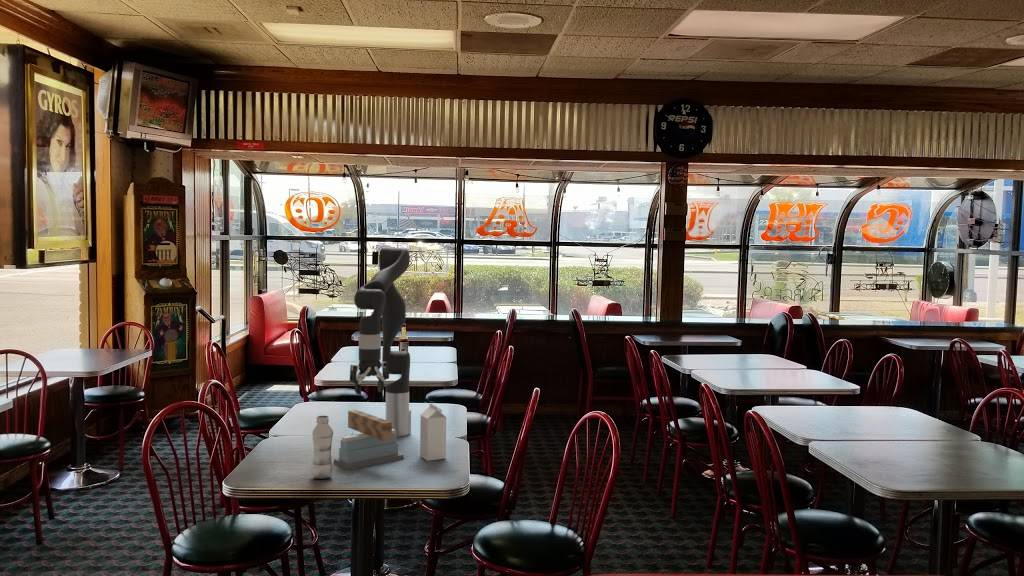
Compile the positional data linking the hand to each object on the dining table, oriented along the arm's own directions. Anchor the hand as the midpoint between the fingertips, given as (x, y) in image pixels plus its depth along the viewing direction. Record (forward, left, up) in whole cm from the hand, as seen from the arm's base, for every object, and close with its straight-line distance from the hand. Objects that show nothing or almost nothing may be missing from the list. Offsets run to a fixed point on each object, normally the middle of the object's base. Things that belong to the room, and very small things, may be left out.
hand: (369, 393), depth 271 cm
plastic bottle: (+22, +8, -24) cm, 34 cm away
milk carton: (-20, +10, -24) cm, 33 cm away
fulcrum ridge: (0, 0, -24) cm, 24 cm away
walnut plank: (0, 0, -14) cm, 14 cm away
